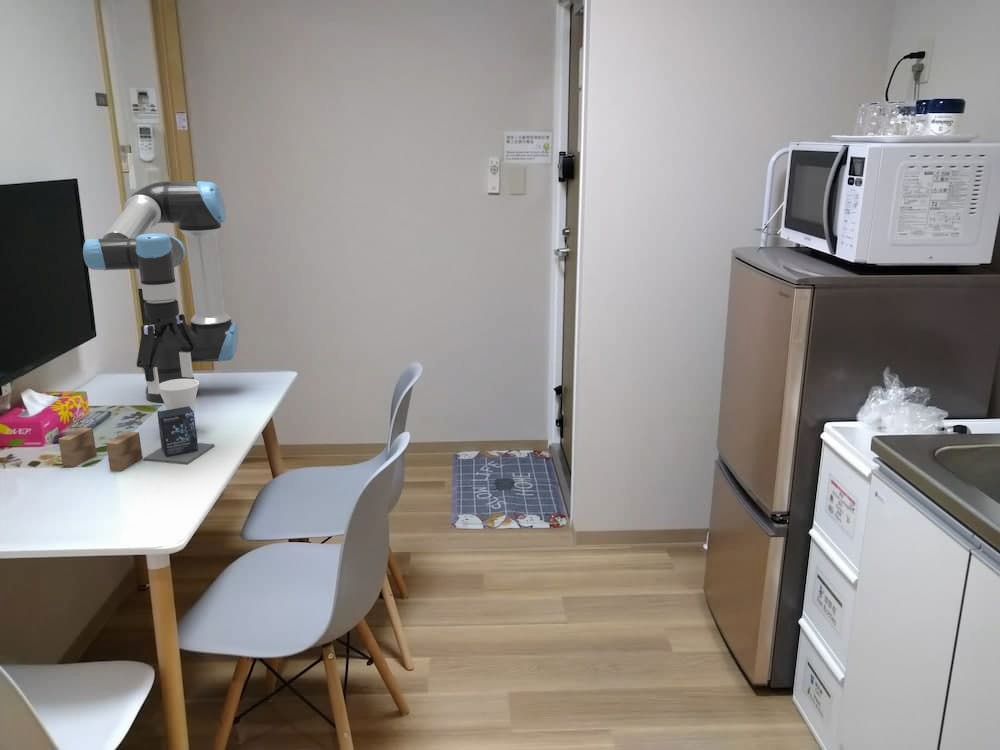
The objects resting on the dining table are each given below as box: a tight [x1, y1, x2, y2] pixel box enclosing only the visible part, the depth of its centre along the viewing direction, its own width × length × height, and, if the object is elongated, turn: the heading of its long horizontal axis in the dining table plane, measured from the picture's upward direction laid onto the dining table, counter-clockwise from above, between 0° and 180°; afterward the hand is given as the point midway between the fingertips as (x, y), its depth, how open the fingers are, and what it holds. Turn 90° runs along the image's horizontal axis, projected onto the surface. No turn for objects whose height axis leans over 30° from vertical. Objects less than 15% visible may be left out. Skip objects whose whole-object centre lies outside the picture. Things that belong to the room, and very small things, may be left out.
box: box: [156, 406, 199, 457], centre depth 192 cm, size 8×6×11 cm
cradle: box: [57, 427, 144, 472], centre depth 187 cm, size 8×16×7 cm, turn 79°
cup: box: [159, 378, 200, 431], centre depth 206 cm, size 10×10×14 cm
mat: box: [142, 442, 215, 465], centre depth 193 cm, size 12×12×1 cm
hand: (171, 385), depth 188 cm, fingers open, 13 cm apart
